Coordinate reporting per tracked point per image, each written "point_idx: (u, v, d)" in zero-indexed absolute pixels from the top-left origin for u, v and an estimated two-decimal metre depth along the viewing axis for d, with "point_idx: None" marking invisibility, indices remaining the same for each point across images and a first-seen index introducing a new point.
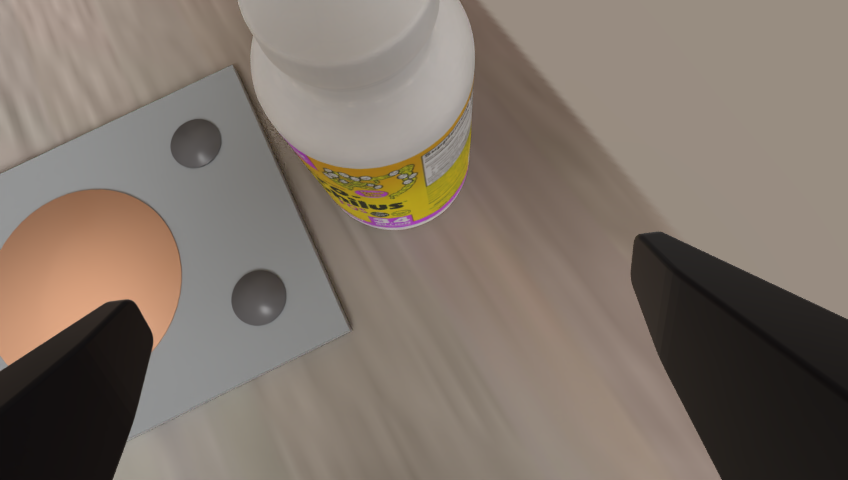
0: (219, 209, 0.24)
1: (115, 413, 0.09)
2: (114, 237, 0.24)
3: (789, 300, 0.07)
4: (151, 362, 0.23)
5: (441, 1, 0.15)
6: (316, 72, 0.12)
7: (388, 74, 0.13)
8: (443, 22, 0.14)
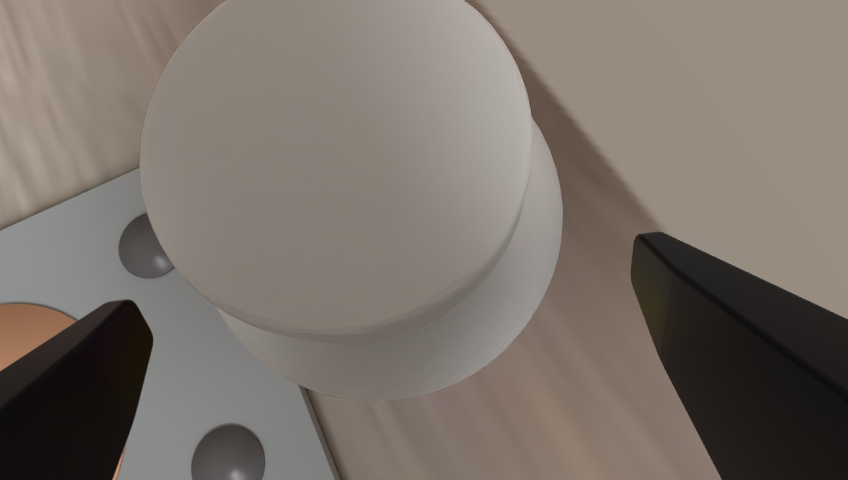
0: (179, 337, 0.18)
1: (115, 413, 0.09)
2: None
3: (789, 300, 0.07)
4: None
5: None
6: (292, 336, 0.06)
7: (431, 321, 0.07)
8: None
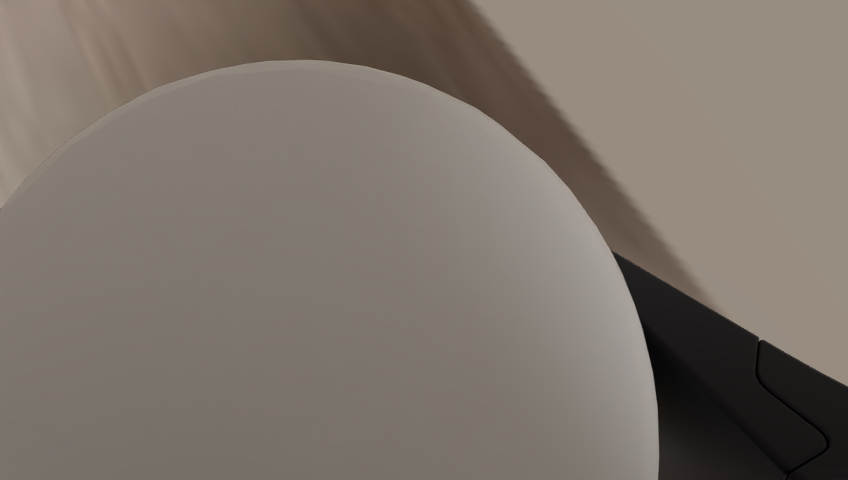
0: None
1: None
2: None
3: (698, 311, 0.07)
4: None
5: None
6: None
7: None
8: None
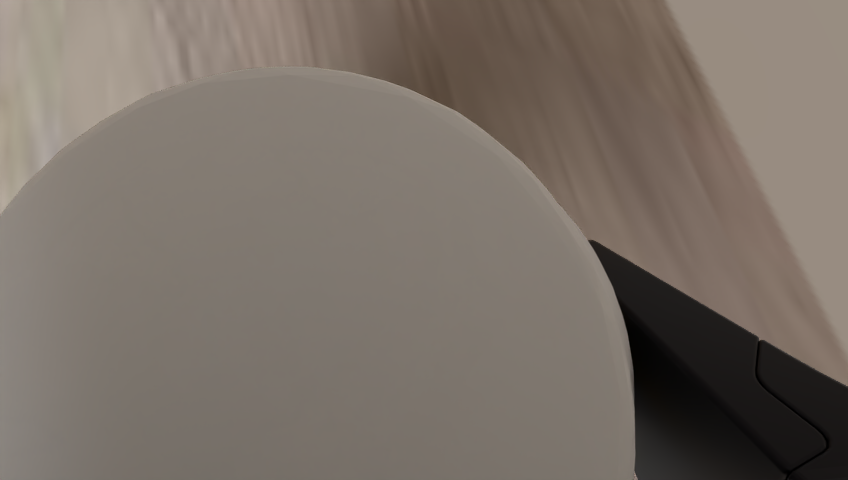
0: None
1: None
2: None
3: (697, 311, 0.07)
4: None
5: None
6: None
7: None
8: None
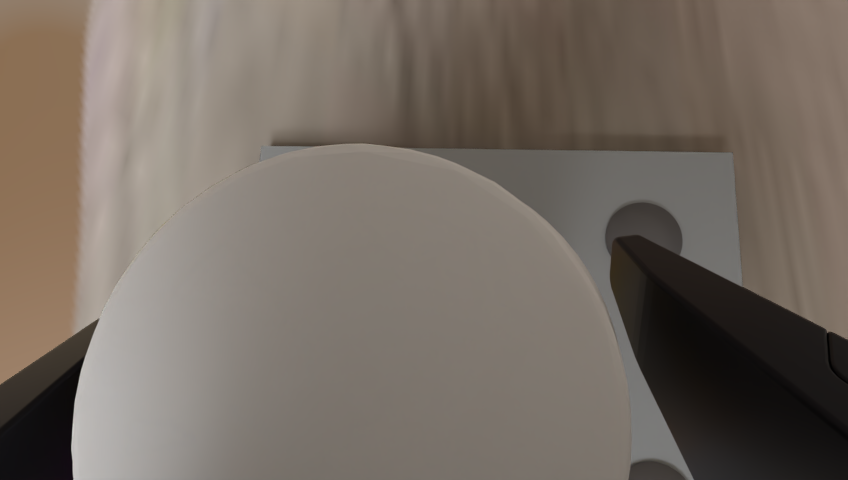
0: None
1: None
2: None
3: (758, 304, 0.07)
4: None
5: None
6: None
7: None
8: None
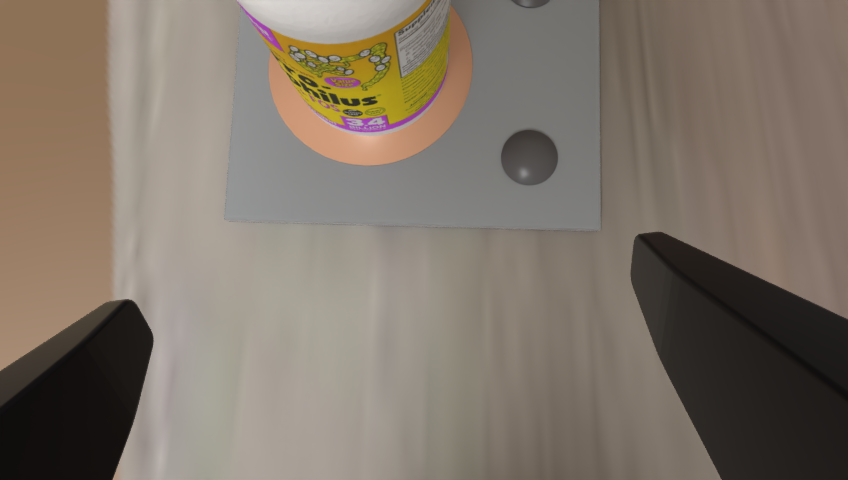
0: (526, 56, 0.23)
1: (115, 413, 0.09)
2: None
3: (789, 300, 0.07)
4: (404, 165, 0.23)
5: None
6: None
7: None
8: None
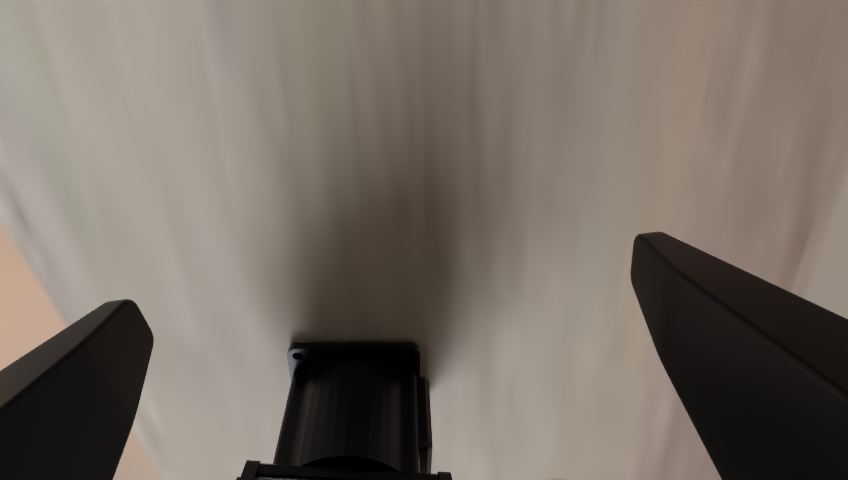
0: None
1: (115, 413, 0.09)
2: None
3: (789, 300, 0.07)
4: None
5: None
6: None
7: None
8: None
